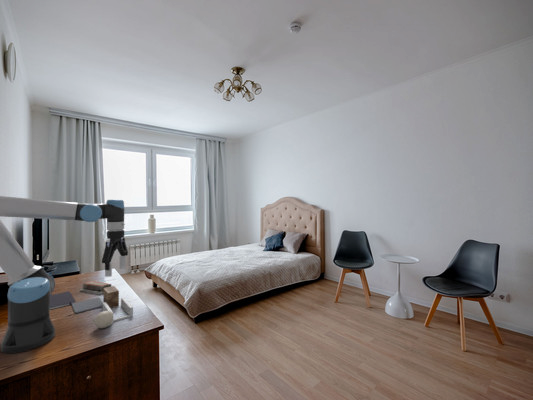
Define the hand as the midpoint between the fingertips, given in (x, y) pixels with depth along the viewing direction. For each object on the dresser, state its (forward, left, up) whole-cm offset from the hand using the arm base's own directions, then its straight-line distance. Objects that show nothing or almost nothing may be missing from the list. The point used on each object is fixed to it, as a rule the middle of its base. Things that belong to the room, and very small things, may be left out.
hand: (115, 272), depth 124 cm
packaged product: (-1, +38, -20) cm, 43 cm away
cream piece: (-8, -16, -19) cm, 26 cm away
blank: (0, +9, -19) cm, 21 cm away
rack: (0, -5, -19) cm, 20 cm away
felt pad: (-9, +15, -19) cm, 26 cm away
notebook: (-20, +33, -20) cm, 44 cm away
